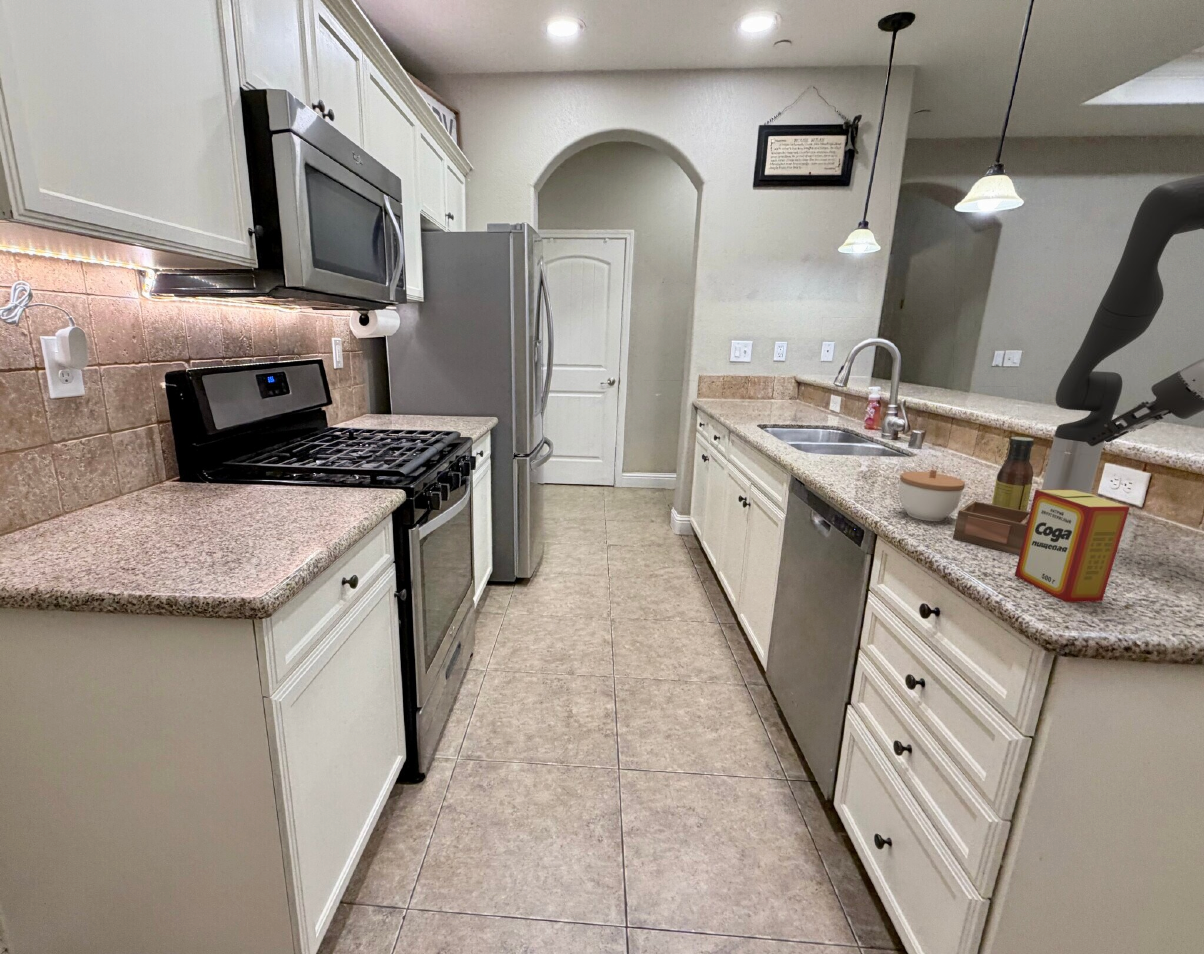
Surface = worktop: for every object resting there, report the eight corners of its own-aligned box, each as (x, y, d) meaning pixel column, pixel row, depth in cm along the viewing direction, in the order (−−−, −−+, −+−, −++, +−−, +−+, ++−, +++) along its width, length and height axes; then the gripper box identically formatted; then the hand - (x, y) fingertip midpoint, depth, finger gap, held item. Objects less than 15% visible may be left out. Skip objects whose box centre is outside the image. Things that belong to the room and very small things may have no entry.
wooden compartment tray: (967, 526, 118) (972, 500, 117) (1092, 556, 104) (1101, 526, 102) (952, 538, 111) (958, 510, 109) (1085, 572, 96) (1093, 540, 95)
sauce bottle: (1010, 523, 122) (1031, 436, 116) (1029, 533, 116) (1051, 441, 110) (980, 521, 122) (999, 434, 117) (996, 531, 116) (1017, 440, 111)
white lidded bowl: (938, 529, 116) (948, 479, 113) (883, 512, 127) (890, 466, 124) (968, 520, 123) (978, 473, 120) (912, 505, 133) (920, 461, 130)
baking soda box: (1102, 601, 86) (1130, 504, 81) (1065, 602, 85) (1091, 504, 81) (1048, 575, 95) (1071, 487, 91) (1014, 575, 94) (1036, 487, 90)
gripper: (1192, 368, 97) (1094, 422, 110) (1171, 369, 90) (1068, 427, 102) (1226, 401, 94) (1121, 453, 107) (1207, 405, 87) (1096, 460, 99)
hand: (1095, 440), depth 104 cm, fingers open, 8 cm apart
